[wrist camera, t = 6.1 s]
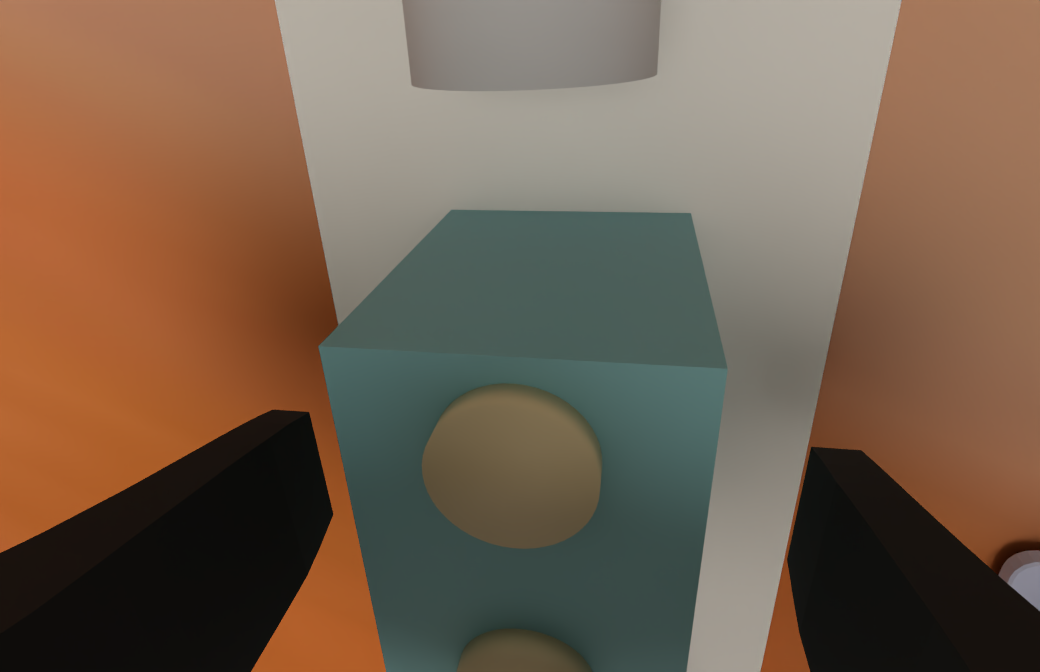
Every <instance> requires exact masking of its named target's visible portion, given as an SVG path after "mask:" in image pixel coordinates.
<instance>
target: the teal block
mask: <svg viewBox="0 0 1040 672" xmlns="http://www.w3.org/2000/svg"><path fill="white" fill-rule="evenodd" d="M318 347H319V352H320V357H321V361H322V366H323V371H324V376H325V380H326V385H327V390H328V395H329V400H330V404H331V409H332V414H333V419H334V424H335V428H336V433H337V438H338V443H339V447H340V452H341V457H342V462H343V467H344V471H345V476H346V481H347V486H348V491H349V495H350V500H351V505H352V510H353V514H354V519H355V524H356V529H357V534H358V538H359V543H360V548H361V553H362V558H363V562H364V567H365V572H366V577H367V581H368V586H369V591H370V596H371V601H372V605H373V610H374V615H375V620H376V625H377V629H378V634H379V639H380V644H381V648H382V653H383V658H384V663H385V668H386V672H686V671H687V664H688V657H689V650H690V642H691V635H692V628H693V620H694V613H695V606H696V598H697V591H698V584H699V576H700V569H701V562H702V554H703V547H704V540H705V532H706V525H707V518H708V510H709V503H710V496H711V489H712V481H713V474H714V467H715V459H716V452H717V445H718V437H719V430H720V423H721V415H722V408H723V401H724V393H725V386H726V379H727V371H728V367H727V363H726V359H725V355H724V351H723V346H722V342H721V338H720V334H719V330H718V325H717V321H716V317H715V313H714V308H713V304H712V300H711V296H710V292H709V287H708V283H707V279H706V275H705V271H704V266H703V262H702V258H701V254H700V250H699V245H698V241H697V237H696V233H695V228H694V224H693V220H692V216H691V213H649V212H579V211H509V210H450V212H449V213H448V214H447V215H446V216H445V217H444V218H443V219H442V220H441V221H440V222H439V223H438V224H437V225H436V226H435V227H434V228H433V229H432V230H431V231H430V232H429V233H428V234H427V235H426V236H425V237H424V238H423V239H422V240H421V241H420V242H419V243H418V244H417V245H416V246H415V247H414V249H413V250H412V251H411V252H410V253H409V254H408V255H407V256H406V257H405V258H404V259H403V260H402V261H401V262H400V263H399V264H398V265H397V266H396V267H395V268H394V269H393V270H392V271H391V272H390V273H389V274H388V275H387V276H386V277H385V278H384V279H383V280H382V281H381V282H380V283H379V284H378V285H377V287H376V288H375V289H374V290H373V291H372V292H371V293H370V294H369V295H368V296H367V297H366V298H365V299H364V300H363V301H362V302H361V303H360V304H359V305H358V306H357V307H356V308H355V309H354V310H353V311H352V312H351V313H350V314H349V315H348V316H347V317H346V318H345V319H344V320H343V321H342V322H341V323H340V325H339V326H338V327H337V328H336V329H335V330H334V331H333V332H332V333H331V334H330V335H329V336H328V337H327V338H326V339H325V340H324V341H323V342H322V343H321V344H320V345H319V346H318Z"/></svg>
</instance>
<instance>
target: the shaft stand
mask: <svg viewBox="0 0 1040 672" xmlns="http://www.w3.org/2000/svg"><path fill="white" fill-rule="evenodd" d="M901 1H902V0H275V4H276V9H277V15H278V20H279V25H280V30H281V35H282V40H283V45H284V50H285V55H286V60H287V66H288V71H289V76H290V81H291V86H292V91H293V96H294V101H295V106H296V112H297V117H298V122H299V127H300V132H301V137H302V142H303V147H304V152H305V157H306V163H307V168H308V173H309V178H310V183H311V188H312V193H313V198H314V203H315V209H316V214H317V219H318V224H319V229H320V234H321V239H322V244H323V249H324V254H325V260H326V265H327V270H328V275H329V280H330V285H331V290H332V295H333V300H334V306H335V311H336V316H337V321H338V326H339V325H340V323H341V322H342V321H343V320H344V319H345V318H346V317H347V316H348V315H349V314H350V313H351V312H352V311H353V310H354V309H355V308H356V307H357V306H358V305H359V304H360V303H361V302H362V301H363V300H364V299H365V298H366V297H367V296H368V295H369V294H370V293H371V292H372V291H373V290H374V289H375V288H376V287H377V285H378V284H379V283H380V282H381V281H382V280H383V279H384V278H385V277H386V276H387V275H388V274H389V273H390V272H391V271H392V270H393V269H394V268H395V267H396V266H397V265H398V264H399V263H400V262H401V261H402V260H403V259H404V258H405V257H406V256H407V255H408V254H409V253H410V252H411V251H412V250H413V249H414V247H415V246H416V245H417V244H418V243H419V242H420V241H421V240H422V239H423V238H424V237H425V236H426V235H427V234H428V233H429V232H430V231H431V230H432V229H433V228H434V227H435V226H436V225H437V224H438V223H439V222H440V221H441V220H442V219H443V218H444V217H445V216H446V215H447V214H448V213H449V212H450V210H509V211H579V212H649V213H691V216H692V220H693V224H694V228H695V233H696V237H697V241H698V245H699V250H700V254H701V258H702V262H703V266H704V271H705V275H706V279H707V283H708V287H709V292H710V296H711V300H712V304H713V308H714V313H715V317H716V321H717V325H718V330H719V334H720V338H721V342H722V346H723V351H724V355H725V359H726V363H727V367H728V371H727V379H726V386H725V393H724V401H723V408H722V415H721V423H720V430H719V437H718V445H717V452H716V459H715V467H714V474H713V481H712V489H711V496H710V503H709V510H708V518H707V525H706V532H705V540H704V547H703V554H702V562H701V569H700V576H699V584H698V591H697V598H696V606H695V613H694V620H693V628H692V635H691V642H690V650H689V657H688V664H687V671H686V672H760V671H761V666H762V662H763V657H764V652H765V647H766V642H767V638H768V633H769V628H770V623H771V619H772V614H773V609H774V604H775V600H776V595H777V590H778V585H779V581H780V576H781V571H782V566H783V562H784V557H785V552H786V547H787V543H788V538H789V533H790V528H791V524H792V519H793V514H794V509H795V505H796V500H797V495H798V490H799V486H800V481H801V476H802V471H803V467H804V462H805V457H806V452H807V448H808V443H809V438H810V433H811V429H812V424H813V419H814V414H815V410H816V405H817V400H818V395H819V391H820V386H821V381H822V376H823V372H824V367H825V362H826V357H827V353H828V348H829V343H830V338H831V333H832V329H833V324H834V319H835V314H836V310H837V305H838V300H839V295H840V291H841V286H842V281H843V276H844V272H845V267H846V262H847V257H848V253H849V248H850V243H851V238H852V234H853V229H854V224H855V219H856V215H857V210H858V205H859V200H860V196H861V191H862V186H863V181H864V177H865V172H866V167H867V162H868V158H869V153H870V148H871V143H872V139H873V134H874V129H875V124H876V120H877V115H878V110H879V105H880V101H881V96H882V91H883V86H884V82H885V77H886V72H887V67H888V63H889V58H890V53H891V48H892V44H893V39H894V34H895V29H896V25H897V20H898V15H899V10H900V5H901Z"/></svg>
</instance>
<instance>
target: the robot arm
mask: <svg viewBox="0 0 1040 672" xmlns="http://www.w3.org/2000/svg"><path fill="white" fill-rule="evenodd" d="M332 516H333V511H332V507H331V503H330V498H329V494H328V490H327V486H326V481H325V477H324V473H323V469H322V465H321V460H320V456H319V452H318V448H317V443H316V439H315V435H314V431H313V427H312V422H311V418H310V414H309V412H299V411H284V410H271V411H269V412H267V413H265V414H262V415H260V416H258V417H256V418H254V419H252V420H250V421H248V422H246V423H244V424H242V425H240V426H239V427H237V428H235V429H233V430H231V431H229V432H228V433H226V434H224V435H222V436H220V437H218V438H217V439H215V440H213V441H211V442H209V443H208V444H206V445H204V446H202V447H201V448H199V449H197V450H195V451H193V452H192V453H190V454H188V455H186V456H185V457H183V458H181V459H179V460H177V461H176V462H174V463H172V464H170V465H168V466H167V467H165V468H163V469H161V470H159V471H158V472H156V473H154V474H152V475H151V476H149V477H147V478H145V479H143V480H142V481H140V482H138V483H136V484H134V485H133V486H131V487H129V488H127V489H125V490H123V491H121V492H120V493H118V494H116V495H114V496H112V497H110V498H108V499H106V500H104V501H102V502H100V503H99V504H97V505H95V506H93V507H91V508H89V509H87V510H85V511H83V512H81V513H79V514H77V515H76V516H74V517H72V518H70V519H68V520H66V521H64V522H62V523H60V524H58V525H56V526H55V527H53V528H51V529H49V530H47V531H45V532H43V533H41V534H39V535H37V536H35V537H33V538H31V539H29V540H27V541H25V542H23V543H21V544H18V545H16V546H14V547H12V548H10V549H8V550H6V551H4V552H2V553H0V672H251V670H252V669H253V667H254V665H255V664H256V662H257V660H258V659H259V657H260V655H261V654H262V652H263V650H264V649H265V647H266V645H267V644H268V642H269V640H270V639H271V637H272V635H273V633H274V632H275V630H276V628H277V627H278V625H279V623H280V622H281V620H282V618H283V617H284V615H285V613H286V611H287V610H288V608H289V606H290V604H291V603H292V601H293V599H294V598H295V596H296V594H297V592H298V591H299V589H300V587H301V585H302V584H303V582H304V580H305V578H306V577H307V575H308V573H309V570H310V568H311V566H312V564H313V561H314V559H315V557H316V555H317V553H318V550H319V548H320V546H321V543H322V541H323V538H324V536H325V533H326V531H327V528H328V526H329V524H330V521H331V519H332ZM787 561H788V567H789V574H790V580H791V586H792V593H793V599H794V605H795V610H796V616H797V622H798V627H799V633H800V637H801V640H802V644H803V647H804V651H805V654H806V658H807V661H808V665H809V668H810V672H1040V551H1039V550H1031V551H1023V552H1019V553H1016V554H1014V555H1013V556H1011V557H1010V558H1008V559H1007V561H1006V562H1005V563H1004V564H1003V566H1002V568H1001V571H1000V573H999V575H997V574H996V573H995V572H994V571H993V570H991V569H990V568H989V567H988V566H987V565H986V564H985V563H984V562H982V561H981V560H980V559H979V558H978V557H977V556H976V555H975V554H974V553H972V552H971V551H970V550H969V549H968V548H967V547H966V546H965V545H963V544H962V543H961V542H960V541H959V540H958V539H957V538H956V537H955V536H954V535H952V534H951V533H950V532H949V531H948V530H947V529H946V528H945V527H944V526H943V525H942V524H940V523H939V522H938V521H937V520H936V519H935V518H934V517H933V516H932V515H931V514H930V513H929V512H928V511H926V510H925V509H924V508H923V507H922V506H921V505H920V504H919V503H918V502H917V501H916V500H915V499H914V498H912V497H911V496H910V495H909V494H908V493H907V492H906V491H905V490H904V489H903V488H902V487H901V486H900V485H899V484H898V483H896V482H895V481H894V480H893V479H892V478H891V477H890V476H889V475H888V474H887V473H886V472H885V471H884V470H882V469H881V468H880V467H879V466H878V465H877V464H876V463H875V462H874V461H873V460H871V459H870V458H869V457H868V456H867V455H866V454H865V453H864V452H862V451H861V450H848V449H834V448H819V447H811V451H810V455H809V460H808V465H807V469H806V474H805V479H804V483H803V488H802V493H801V497H800V502H799V507H798V511H797V516H796V521H795V525H794V530H793V535H792V540H791V544H790V549H789V554H788V558H787Z"/></svg>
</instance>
